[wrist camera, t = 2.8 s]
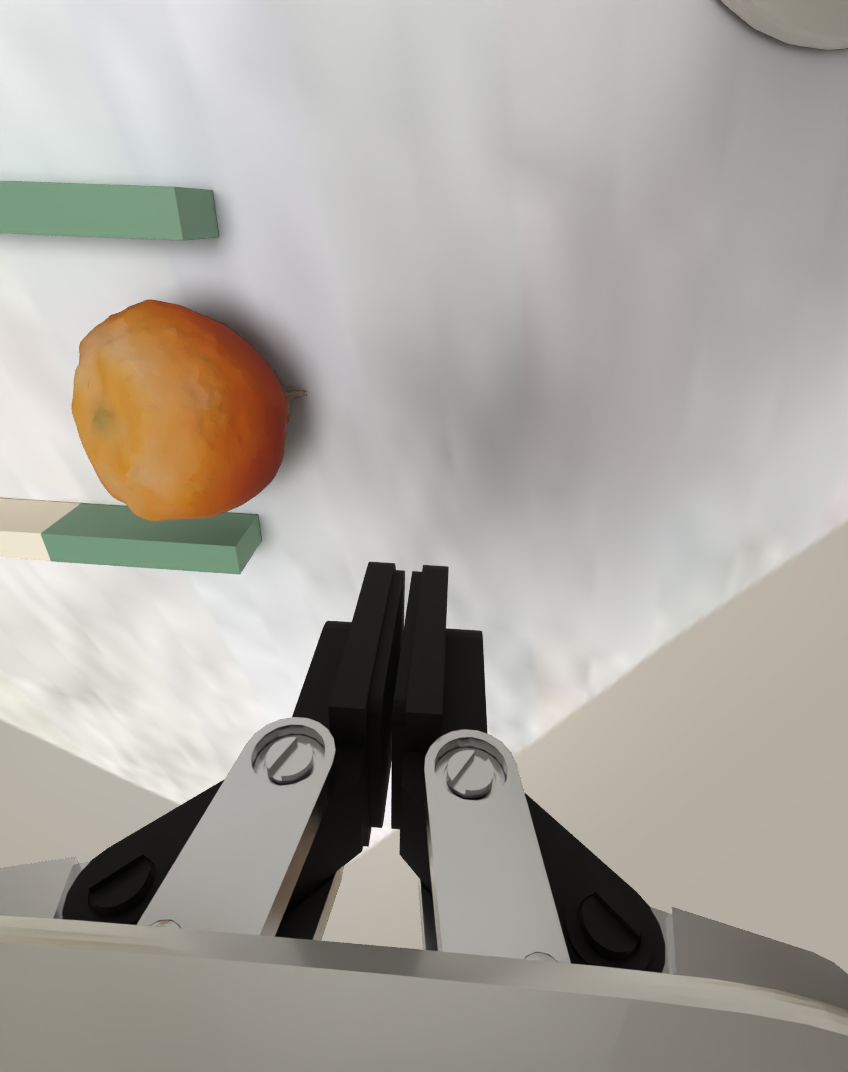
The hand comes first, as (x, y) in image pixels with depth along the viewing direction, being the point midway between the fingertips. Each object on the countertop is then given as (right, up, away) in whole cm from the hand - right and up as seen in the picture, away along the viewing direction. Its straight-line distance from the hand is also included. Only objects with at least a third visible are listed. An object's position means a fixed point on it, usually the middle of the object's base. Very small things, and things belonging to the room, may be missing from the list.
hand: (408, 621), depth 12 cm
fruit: (-9, +8, +12) cm, 17 cm away
